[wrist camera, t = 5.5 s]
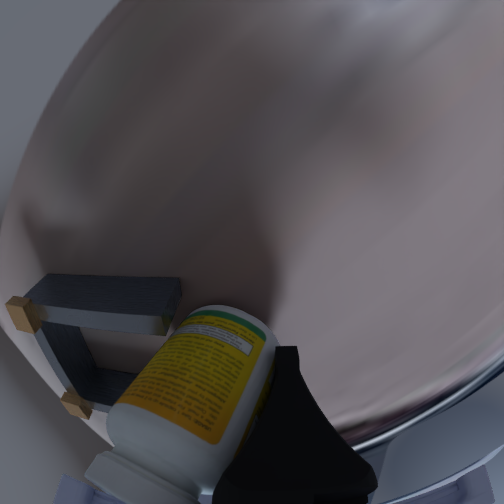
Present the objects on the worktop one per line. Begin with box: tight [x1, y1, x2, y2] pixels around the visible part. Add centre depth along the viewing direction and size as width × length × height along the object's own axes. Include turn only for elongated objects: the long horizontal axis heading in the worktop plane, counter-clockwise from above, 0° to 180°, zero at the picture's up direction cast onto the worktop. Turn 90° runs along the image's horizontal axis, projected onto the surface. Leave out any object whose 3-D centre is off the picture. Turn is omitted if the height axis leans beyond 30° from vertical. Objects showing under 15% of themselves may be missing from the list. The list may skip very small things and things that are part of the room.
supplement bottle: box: [84, 305, 280, 504], centre depth 10 cm, size 5×5×10 cm
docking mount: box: [5, 274, 182, 420], centre depth 13 cm, size 9×9×4 cm
